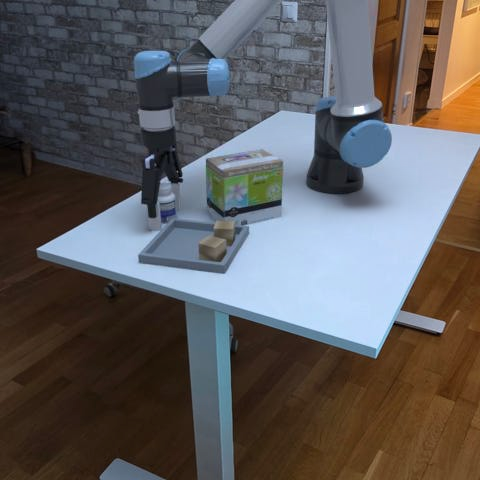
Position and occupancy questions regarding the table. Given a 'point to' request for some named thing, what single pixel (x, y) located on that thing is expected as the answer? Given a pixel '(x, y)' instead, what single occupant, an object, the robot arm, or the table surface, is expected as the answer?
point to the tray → (189, 246)
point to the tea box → (244, 187)
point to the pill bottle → (166, 203)
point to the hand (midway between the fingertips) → (165, 218)
